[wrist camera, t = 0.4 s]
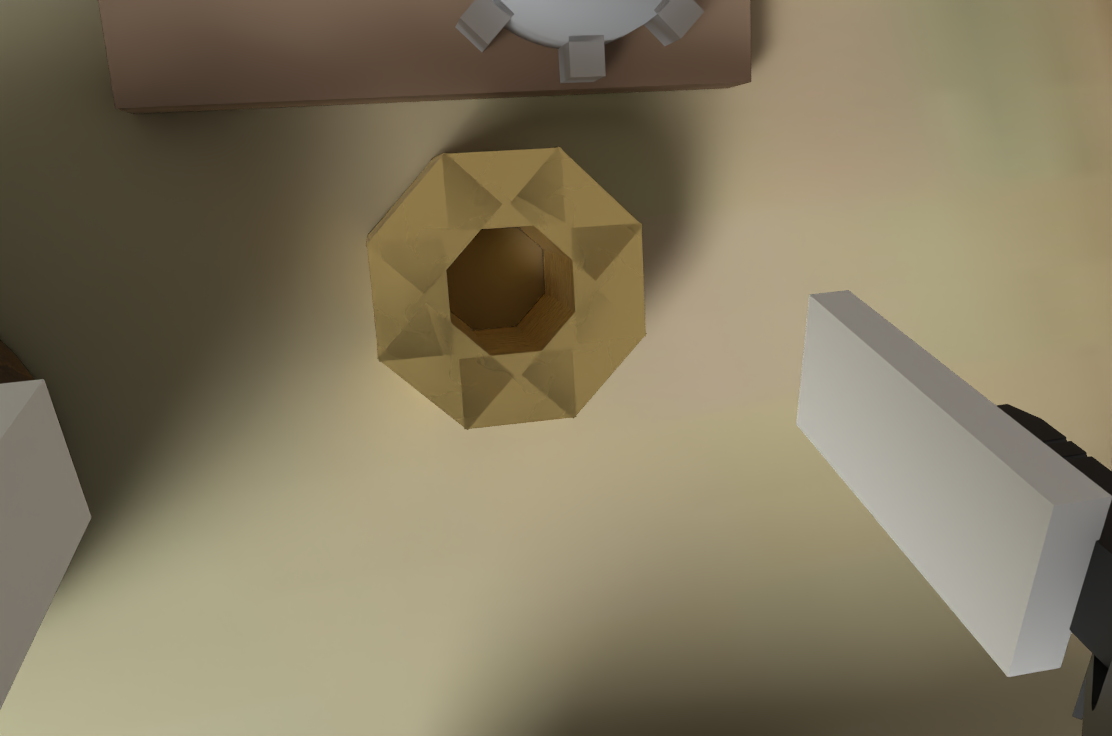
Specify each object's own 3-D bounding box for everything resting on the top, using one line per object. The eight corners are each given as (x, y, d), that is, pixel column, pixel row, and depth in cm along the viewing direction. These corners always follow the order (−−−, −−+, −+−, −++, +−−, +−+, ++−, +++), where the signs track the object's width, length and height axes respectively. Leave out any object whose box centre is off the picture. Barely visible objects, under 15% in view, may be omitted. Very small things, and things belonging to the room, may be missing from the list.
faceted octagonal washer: (609, 377, 33) (649, 410, 28) (384, 400, 31) (385, 439, 27) (599, 148, 31) (639, 142, 26) (359, 162, 30) (356, 157, 25)
